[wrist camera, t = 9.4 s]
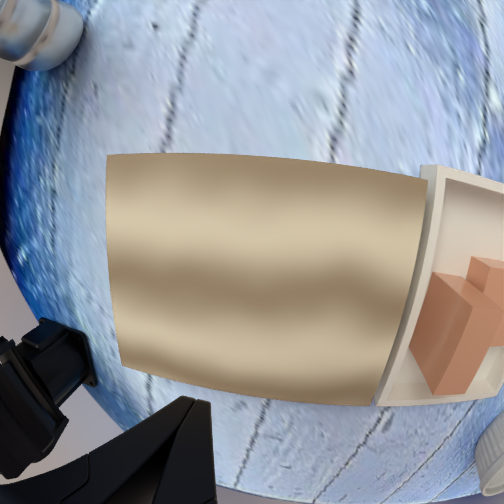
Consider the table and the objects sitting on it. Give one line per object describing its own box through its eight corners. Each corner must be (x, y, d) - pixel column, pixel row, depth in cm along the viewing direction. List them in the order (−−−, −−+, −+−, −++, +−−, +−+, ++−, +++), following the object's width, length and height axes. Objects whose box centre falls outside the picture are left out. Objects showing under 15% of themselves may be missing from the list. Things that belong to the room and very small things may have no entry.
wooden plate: (362, 374, 19) (369, 405, 16) (143, 341, 22) (122, 365, 18) (405, 178, 16) (428, 179, 12) (137, 156, 18) (107, 155, 14)
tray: (484, 380, 18) (496, 396, 15) (370, 384, 19) (376, 406, 17) (539, 200, 14) (559, 205, 11) (420, 164, 15) (437, 164, 13)
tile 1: (407, 345, 18) (435, 347, 17) (432, 395, 12) (464, 393, 12) (432, 271, 16) (461, 276, 16) (473, 307, 11) (504, 310, 11)
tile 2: (463, 347, 14) (449, 329, 17) (514, 345, 14) (499, 330, 16) (490, 266, 13) (471, 255, 15) (538, 274, 12) (520, 263, 15)
